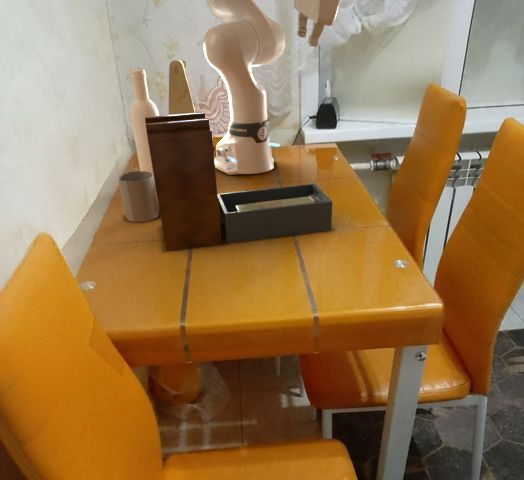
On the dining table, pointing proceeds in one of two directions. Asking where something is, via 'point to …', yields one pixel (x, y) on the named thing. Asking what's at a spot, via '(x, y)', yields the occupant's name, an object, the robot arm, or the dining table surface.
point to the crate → (273, 213)
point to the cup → (139, 196)
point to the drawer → (279, 203)
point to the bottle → (142, 118)
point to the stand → (185, 179)
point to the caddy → (179, 90)
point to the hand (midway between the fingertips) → (306, 41)
